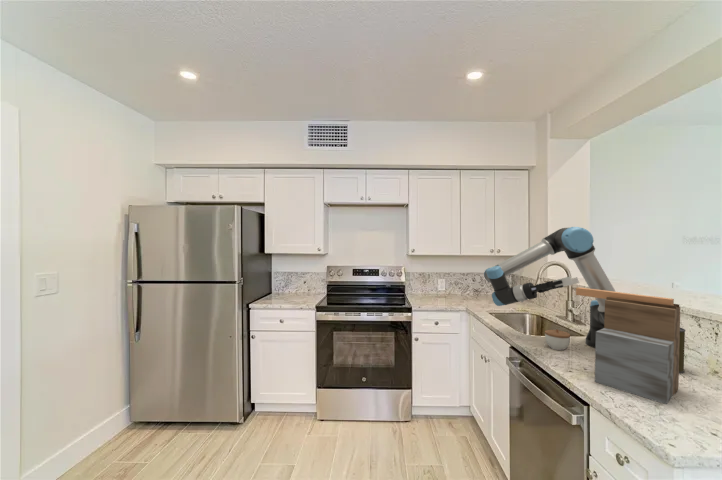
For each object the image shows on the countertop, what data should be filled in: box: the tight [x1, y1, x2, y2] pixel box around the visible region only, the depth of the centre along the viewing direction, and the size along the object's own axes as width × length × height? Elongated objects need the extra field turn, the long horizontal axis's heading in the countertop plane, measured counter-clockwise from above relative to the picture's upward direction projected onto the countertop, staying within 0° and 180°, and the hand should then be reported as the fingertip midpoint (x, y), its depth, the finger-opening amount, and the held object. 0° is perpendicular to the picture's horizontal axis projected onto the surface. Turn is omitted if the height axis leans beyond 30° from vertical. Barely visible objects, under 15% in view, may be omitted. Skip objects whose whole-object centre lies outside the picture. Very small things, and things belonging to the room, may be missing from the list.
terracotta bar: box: [575, 286, 675, 306], centre depth 127 cm, size 3×30×3 cm, turn 35°
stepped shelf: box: [594, 297, 681, 405], centre depth 119 cm, size 18×20×31 cm
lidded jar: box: [544, 328, 571, 351], centre depth 159 cm, size 11×11×9 cm
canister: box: [679, 327, 686, 374], centre depth 136 cm, size 11×10×20 cm
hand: (574, 279), depth 142 cm, fingers open, 13 cm apart
